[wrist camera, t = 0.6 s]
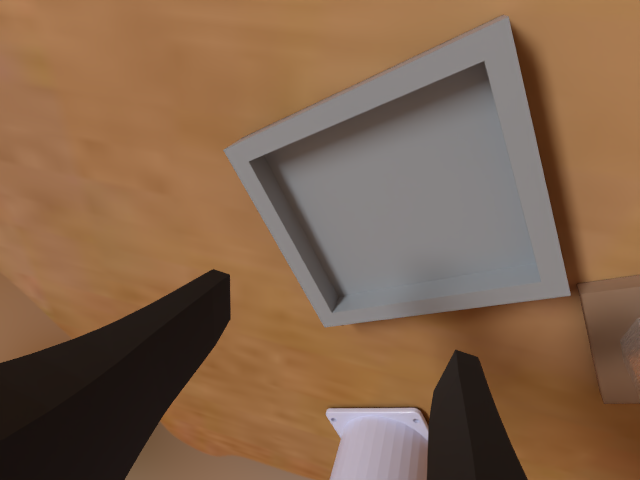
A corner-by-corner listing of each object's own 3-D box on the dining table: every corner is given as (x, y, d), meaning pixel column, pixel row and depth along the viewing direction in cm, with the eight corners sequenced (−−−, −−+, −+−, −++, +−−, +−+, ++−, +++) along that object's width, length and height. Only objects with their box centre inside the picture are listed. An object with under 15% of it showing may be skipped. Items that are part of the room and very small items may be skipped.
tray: (561, 269, 18) (570, 295, 17) (333, 305, 24) (324, 327, 23) (503, 14, 14) (508, 16, 12) (242, 137, 20) (223, 149, 18)
